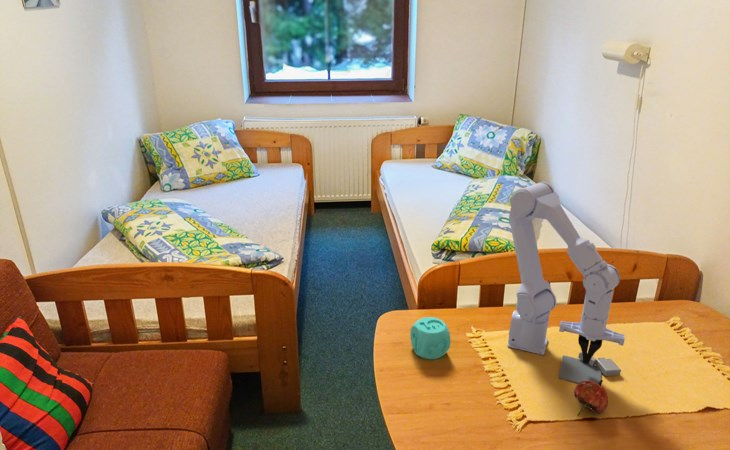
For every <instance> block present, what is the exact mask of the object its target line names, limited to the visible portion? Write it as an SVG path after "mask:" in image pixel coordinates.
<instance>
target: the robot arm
mask: <svg viewBox="0 0 730 450" xmlns="http://www.w3.org/2000/svg"><path fill="white" fill-rule="evenodd" d="M560 201H561V200H560V196H559V194H558V192H557V193H556V192H555V190H554V188H553V186H552V185H551V184H550V183H549V182H546V181H540V182H537V183H534V184H532V185H529V186H526V187H523V188H522V187H521V188H518V189H516V190H515V191H514V193H513V194H512V195H511V196H510V197H509V205H510V210H509V216H508V218H509V225H510V229H511V230H510V231H511V235H512V241H513V245H514V251H515V256H516V260H517V261H516V262H517V265H518V271H519V275H520V280H521V283H520V286H519V288H518V290H517V291H516V304H515V308H516V310H513V312H512V315H511V318H510V319H511V320H510V327H509V329H508V341H507V347H508V348H513V349H515V350H516V349H517V350H520V351H525V352H529V353H533V354H536V355H541V356H544V355H545V353H546V348H547V344H548V341H549V340H548V339H549V338H548V337H547V331H548V325H549V320H550V319H549V318H550V315H551V311H552V310H553V309H555V308H556V306H557V297H556V294H555V293H554V291H553V290H552V287H551V284H550V283H549V282H548V281H546V280H545V279H544V276H543V269H542V264H541V260H540V255H539V250H538V245H537V238H536V235H535V233H536V232H535V229H534V223H533V221H534V219H536V218H537V219H541V220H546V221H547V222H548V223H549V225H550V226H551V227H552V228H553V229H554V231H556V233H557V234H558V236H560V238H561V239H562V240H563V241H564V243H565V244H566V245H567V250H566V253H567V255H568V257H569V258H570V260H571V261H572V262H573V264H574V265H575V266H576V268H577V269H578V271H579V272H580V274H581V275H582V276H583V279H582V285H583V288H584V290H585V295H584V302H583V306H582V307H583V308H582V311H581V312H582V313H581V317H580V321H579V322H576V321H575V322H573V321H563V320H560V325H559V332H560V333H564V332H566V333H571V334H576V335H578V338H577V340H578V344H579V347H580V350H581V352H582V355H583V363H585V364H589V362H590V360H591V358H592V357H593V356H594V355H595V353H597V352H598V350H599V349H601V348H602V345H603V341H607V342H611V343H616V344H618V345H619V346H623V347H624V344H625V339H626V334H624V333H620V332H616V331H615V330H611V329H609V328H607V324H608V320H609V314H610V308H611V304H612V299H613V293H614V288H616V287H617V286H618V285H619V284H620V281H621V276H620V273H619V271H618V269H617V267H615V266H613V265H611V264H609V263H607V261H605V260H603V258H602V256H601V255H600V253H599V252H598V251H597V250H596V245H595V244H594V243H593V242H590V240H589V239H586V238H583V237H581V235H580V234H579V233H578V231H577V230H576V228H575V226H574V225H573V223H572V221H571V220H570V218H569V217H568V215H567V213H566V212H565V210H564V208H563V207H562V206H561V203H560Z"/></svg>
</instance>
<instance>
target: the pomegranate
mask: <svg viewBox="0 0 730 450" xmlns="http://www.w3.org/2000/svg"><path fill="white" fill-rule="evenodd" d="M603 382H604V381H603V379H601V380H600V382H599V383H594V382H592V381H581V382H579V383H576V385H575V388H574V389H573V396H574V397H575V398H576V399H577V401H578V403H579V404H580V405H581V406H582V407H581V409H580V411H579V412H578V413H577V415H576V416H577V417H579V415H580V414H581V413H582V412H584V409H585V408H589V409H591V411H592V412H595V413H596V414H601V413H603V412H604V411H605V410H606V409H607V407H608V406H609V396H608V393H607V391H606V389H605V388H604V386H602V384H603Z"/></svg>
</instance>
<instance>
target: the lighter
mask: <svg viewBox="0 0 730 450" xmlns="http://www.w3.org/2000/svg"><path fill="white" fill-rule="evenodd" d="M577 359H581V360H582V361H583V355H582V351H580V352H578V356H577ZM589 365H590V366H593V365H596V366H597V367H598V368H599V369H600V371H601V374H602V375H604V376H605V377H612V376H615V377H616V376H620V375H621V373H622V369H621V368H620V366H618V365H617V363H616V362H615V361H614V360H613V359H612V358H605V357H598V358H595V357H593V356H592V358H591V360H590V362H589Z"/></svg>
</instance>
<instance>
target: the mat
mask: <svg viewBox="0 0 730 450" xmlns="http://www.w3.org/2000/svg"><path fill="white" fill-rule="evenodd" d="M561 358H562V359H561V365H560V368H559V369H560V370H559V373H558V379H560V380H563V381H566V382H571V383H575V384H578V383H579V382H581V381H592V382H594V383H599V382H600V380H602V372H601V371H600V369H599V368H598V367H597V366H596V365H593V366H590V365H589V364H585V363H583V361H582V360H581V359H579V358H578V357H577V358H575V357H572V356H568V355H564V354H563V355H562V357H561Z"/></svg>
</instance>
